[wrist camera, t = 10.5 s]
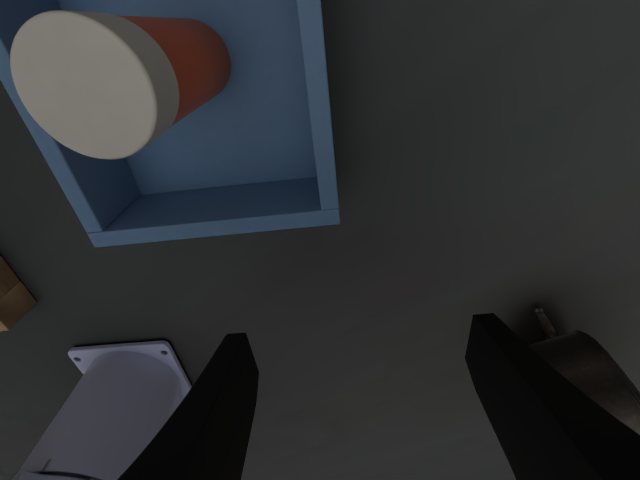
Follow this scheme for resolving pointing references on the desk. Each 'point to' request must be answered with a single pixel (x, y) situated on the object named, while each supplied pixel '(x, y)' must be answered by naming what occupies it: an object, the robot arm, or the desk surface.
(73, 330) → the desk surface
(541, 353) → the alarm clock
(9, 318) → the pen rack
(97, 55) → the pill bottle
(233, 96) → the bin
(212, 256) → the desk surface
